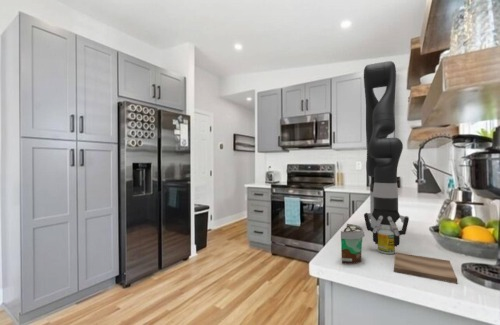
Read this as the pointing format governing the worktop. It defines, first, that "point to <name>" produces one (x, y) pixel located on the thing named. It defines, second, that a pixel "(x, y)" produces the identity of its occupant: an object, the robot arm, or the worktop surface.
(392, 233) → the supplement bottle
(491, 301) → the worktop surface
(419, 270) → the walnut cutting board
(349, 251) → the food container
